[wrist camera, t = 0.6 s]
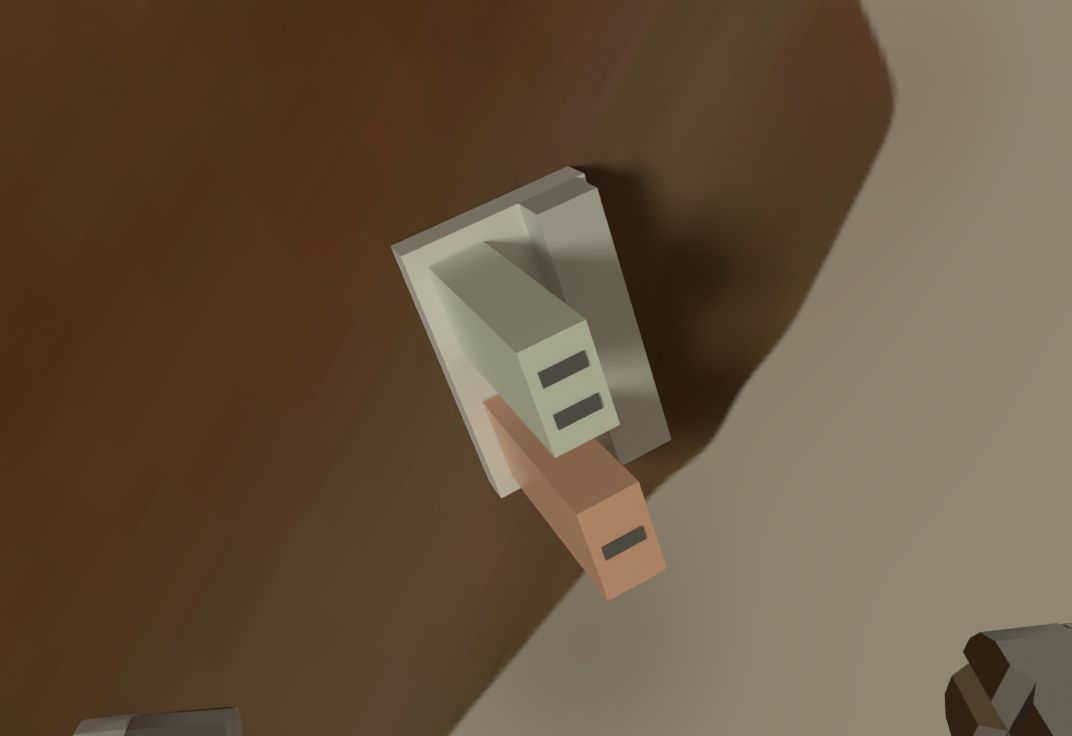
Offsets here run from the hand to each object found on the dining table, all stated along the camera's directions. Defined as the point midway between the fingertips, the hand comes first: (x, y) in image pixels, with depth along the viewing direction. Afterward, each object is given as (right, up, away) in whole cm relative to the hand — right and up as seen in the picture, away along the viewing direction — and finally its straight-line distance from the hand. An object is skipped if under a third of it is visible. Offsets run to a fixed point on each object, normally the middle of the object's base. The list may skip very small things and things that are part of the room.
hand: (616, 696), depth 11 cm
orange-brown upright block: (-2, +1, +41) cm, 41 cm away
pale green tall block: (-4, +7, +37) cm, 38 cm away
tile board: (-1, +6, +41) cm, 42 cm away
